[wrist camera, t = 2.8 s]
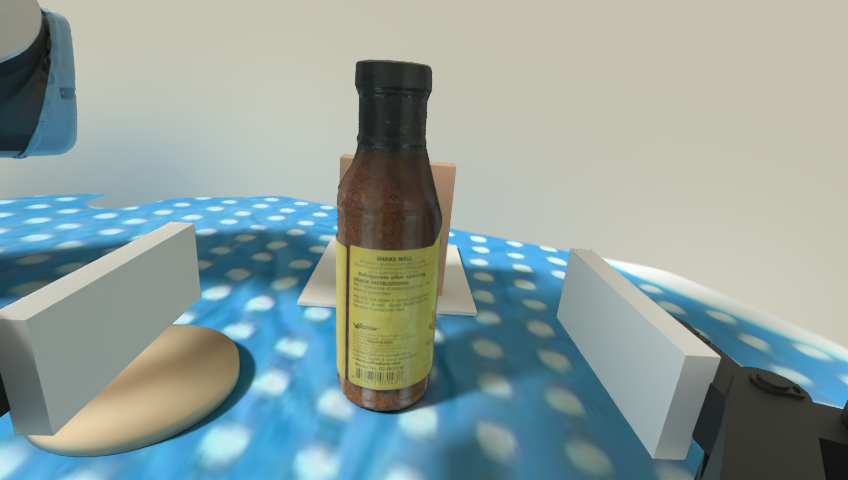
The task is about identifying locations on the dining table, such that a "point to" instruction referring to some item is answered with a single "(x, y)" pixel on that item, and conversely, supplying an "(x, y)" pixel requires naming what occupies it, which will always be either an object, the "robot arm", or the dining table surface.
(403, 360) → the sauce bottle
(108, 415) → the cork coaster
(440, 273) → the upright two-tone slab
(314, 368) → the dining table surface
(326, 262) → the white mat
